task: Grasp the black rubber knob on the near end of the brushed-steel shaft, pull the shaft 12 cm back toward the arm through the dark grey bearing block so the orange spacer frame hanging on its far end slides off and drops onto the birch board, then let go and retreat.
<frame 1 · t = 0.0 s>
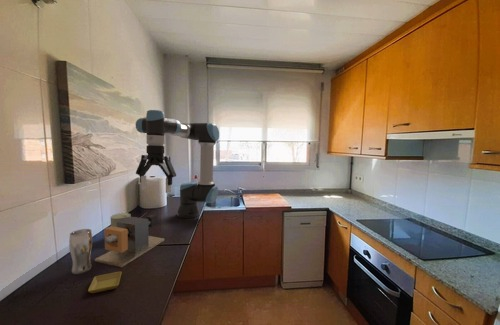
hand: (155, 190, 99), 28 cm above the worktop, fingers open, 13 cm apart
beer glass: (81, 270, 83), on the worktop
shaft: (134, 228, 99), point 10 cm above the worktop, slide at 0.0 cm, touching spacer
can: (121, 237, 113), on the worktop
bearing block: (133, 249, 100), on the worktop
spacer: (116, 249, 91), point 4 cm above the worktop, touching shaft
saucer: (106, 286, 75), on the worktop
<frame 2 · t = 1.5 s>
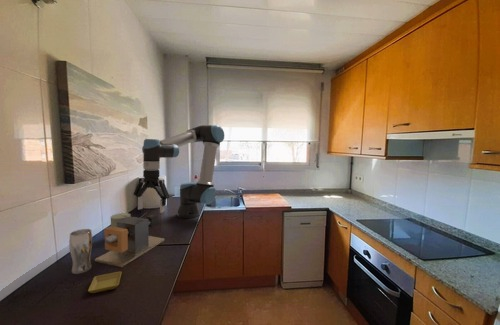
hand: (151, 210, 110), 15 cm above the worktop, fingers open, 13 cm apart
nothing on the worktop moved.
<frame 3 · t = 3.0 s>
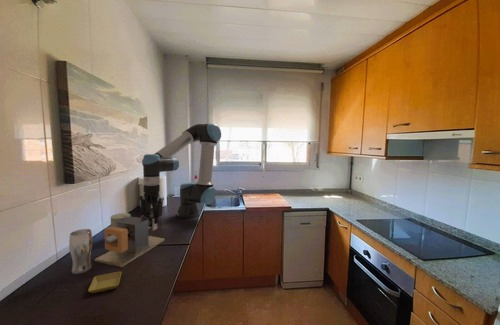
hand: (151, 228, 111), 6 cm above the worktop, fingers closed on shaft, 3 cm apart
shaft: (134, 228, 99), point 10 cm above the worktop, slide at 0.0 cm, touching gripper, spacer
everything else where it was.
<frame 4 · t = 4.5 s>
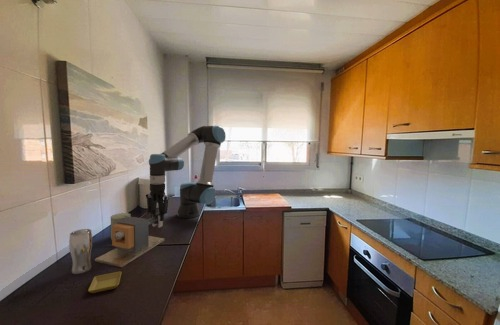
hand: (157, 226, 115), 6 cm above the worktop, fingers closed on shaft, 3 cm apart
shaft: (141, 225, 103), point 10 cm above the worktop, slide at 4.3 cm, touching gripper, spacer
spacer: (123, 245, 94), point 4 cm above the worktop, touching bearing block, shaft
everything else where it was.
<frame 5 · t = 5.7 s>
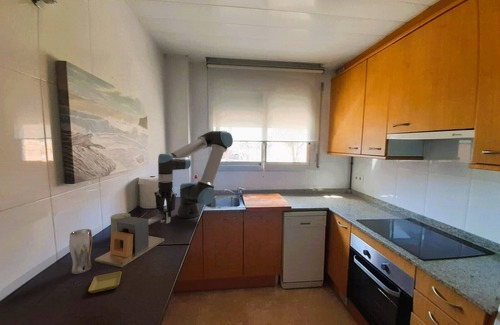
hand: (165, 222, 121), 6 cm above the worktop, fingers closed on shaft, 3 cm apart
shaft: (150, 221, 110), point 10 cm above the worktop, slide at 10.7 cm, touching gripper
spacer: (121, 254, 93), point 1 cm above the worktop, touching bearing block
everything else where it was.
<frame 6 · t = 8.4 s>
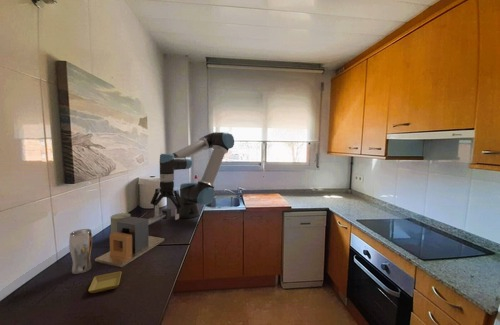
hand: (166, 217, 122), 8 cm above the worktop, fingers open, 13 cm apart
shaft: (152, 220, 111), point 10 cm above the worktop, slide at 11.9 cm
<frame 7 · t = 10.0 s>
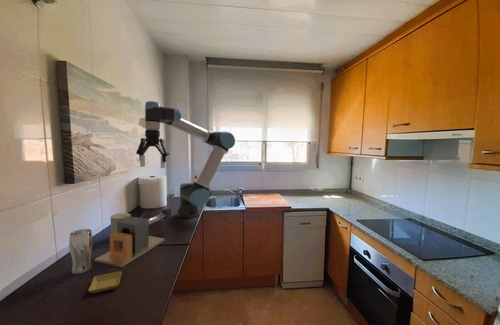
hand: (152, 167, 122), 36 cm above the worktop, fingers open, 13 cm apart
nothing on the worktop moved.
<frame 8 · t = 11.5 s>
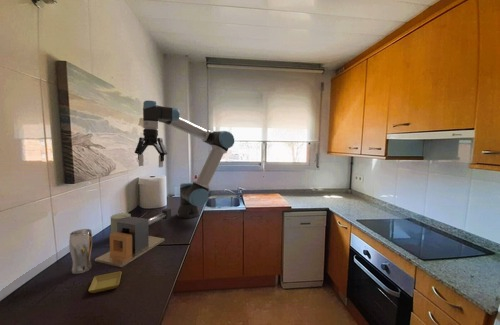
hand: (150, 166, 122), 37 cm above the worktop, fingers open, 13 cm apart
nothing on the worktop moved.
at the end: spacer point 1.0 cm above the worktop; spacer touching bearing block; shaft slide at 11.9 cm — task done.
